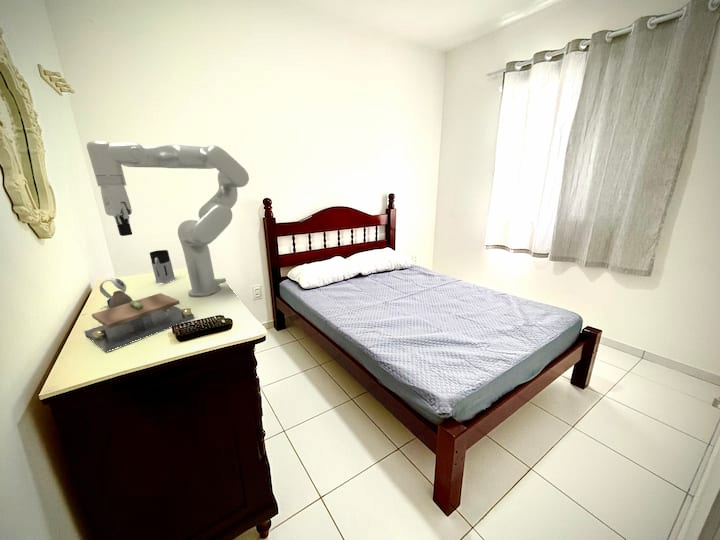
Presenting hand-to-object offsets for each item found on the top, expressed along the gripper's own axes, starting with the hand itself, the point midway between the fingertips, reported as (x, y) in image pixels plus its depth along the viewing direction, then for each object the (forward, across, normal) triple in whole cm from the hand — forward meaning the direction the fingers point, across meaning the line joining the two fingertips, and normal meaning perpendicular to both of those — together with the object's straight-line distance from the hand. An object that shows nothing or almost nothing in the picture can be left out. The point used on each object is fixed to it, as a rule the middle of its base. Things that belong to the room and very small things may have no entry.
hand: (126, 235), depth 102 cm
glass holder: (+29, -29, +19) cm, 45 cm away
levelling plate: (+23, +15, -7) cm, 28 cm away
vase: (+29, -4, -6) cm, 30 cm away
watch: (+29, -16, -4) cm, 34 cm away
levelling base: (+29, +15, -7) cm, 33 cm away
